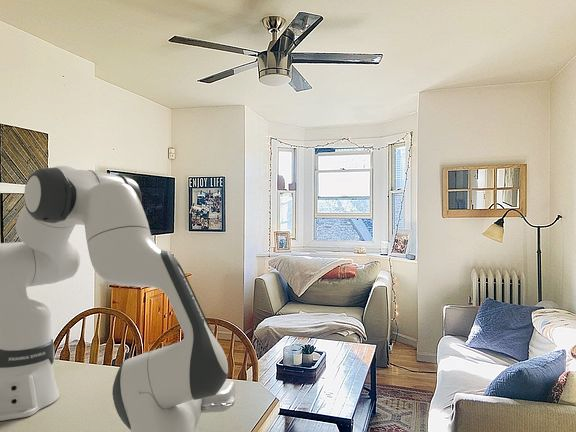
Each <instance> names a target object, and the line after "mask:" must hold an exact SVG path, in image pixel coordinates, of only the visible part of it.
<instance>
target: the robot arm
mask: <svg viewBox="0 0 576 432" xmlns="http://www.w3.org/2000/svg"><path fill="white" fill-rule="evenodd" d="M23 192H24V193H23V194H24V195H23V196H24V197H23V200H24V205H23V207H22V209H21V211H20V213H19V215H18V217H17V220H16V221H15V231H16V235H17V237H18V238H19V240H20V241H18V242H17V241H15V242H0V422H1V421H7V420H14V419H21V418H27V417H30V416H33V415H34V414H36V413H37V412H38V411H40V410H41V409H43V408H46V407H48V406H49V405H51V404H53V403H55V402H56V401H57V400H58V399H59V398H60V395H61V393H60V391H59V389H58V386H57V382H56V378H55V377H56V376H55V371H54V361H55V344H54V339H53V338H52V311H51V310H50V308H49V307H48V306H47V305H46V304H45V303H43V302H40V301H38V300H34V299H31V298H29V296H28V294H27V288H29V287H36V286H37V287H38V286H43V285H50V284H56V283H59V282H62V281H65V280H68V279H71V278H73V277H74V276H75V275H76V274H77V272H78V270H79V269H80V265H81V256H80V253H79V251H78V248H77V247H76V246H75V245H74V244H73V243H71V242H70V241H69V238H70V237H71V234H72V232H73V230H74V228H75V226H76V225H78V226H79V225H82V226H84V233H85V240H86V245H87V250H88V254H89V255H88V256H89V259H90V263H91V265H92V267H93V270H94V271H95V272H96V274H97V275H98V276H100V278H102V279H103V280H105V281H107V282H108V283H111V284H116V285H118V286H126V287H138V288H139V287H142V288H145V287H146V288H153V289H159V290H160V291H161V292H163V293H164V294H165V296H166V297H167V299H168V301H169V303H170V305H171V308H172V310H173V312H174V315H175V316H176V319H177V321H178V323H179V326H180V328H181V330H182V333H183V339H182V340H180V341H178V342H175V343H172V344H169V345H166V346H164V347H160V348H157V349H155V350H150V351H146V352H144V353H141V354H138V355H136V356H132V357H129V358H126V359H125V360H124V361H123V362H122V363H121V365H120V366H119V369H118V370H117V372H116V375H115V378H114V381H113V385H112V399H113V405H114V407H115V410H116V413H117V415H118V417H119V418H120V420H121V422H122V423H123V424H124V425H125V426H126V427H127V428H128V429H129V431H130V432H195V431H196V428H197V427H198V424H199V421H200V418H201V415H202V414H203V413H205V414H206V413H222V412H226V411H228V410H229V409H230V408H231V407H233V406H234V405H235V402H236V383H235V381H233V380H231V379H228V376H229V363H228V360H227V355H226V354H225V351H224V349H223V347H222V346H221V344H220V342H219V341H218V340H217V338H216V336H215V334H214V333H213V330H212V329H211V327H210V324H209V323H208V321H207V318H206V316H205V314H204V311H203V310H202V307H201V305H200V303H199V300H198V299H197V297H196V294H195V292H194V290H193V288H192V285H191V284H190V282H189V280H188V277H187V276H186V274H185V272H184V270H183V268H182V266H181V264H180V262H179V261H178V260H177V258H176V257H175V255H173V253H171V251H168V250H162V249H161V248H160V247H159V246H158V245H157V244H156V242H155V240H154V239H153V236H152V233H151V230H150V225H149V221H148V219H147V216H146V215H147V214H146V213H145V210H144V208H143V205H142V201H143V200H142V198H143V197H142V191H141V190H140V186H139V184H138V183H137V182H136V181H135V180H134V179H132V178H130V177H128V176H125V175H122V174H112V173H108V172H103V171H98V170H92V169H88V170H86V169H76V168H73V167H70V166H66V165H58V166H54V167H43V168H38V169H36V170H35V171H33V172H32V174H30V175H29V176H28V178H27V179H26V183H25V187H24V191H23Z"/></svg>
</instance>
